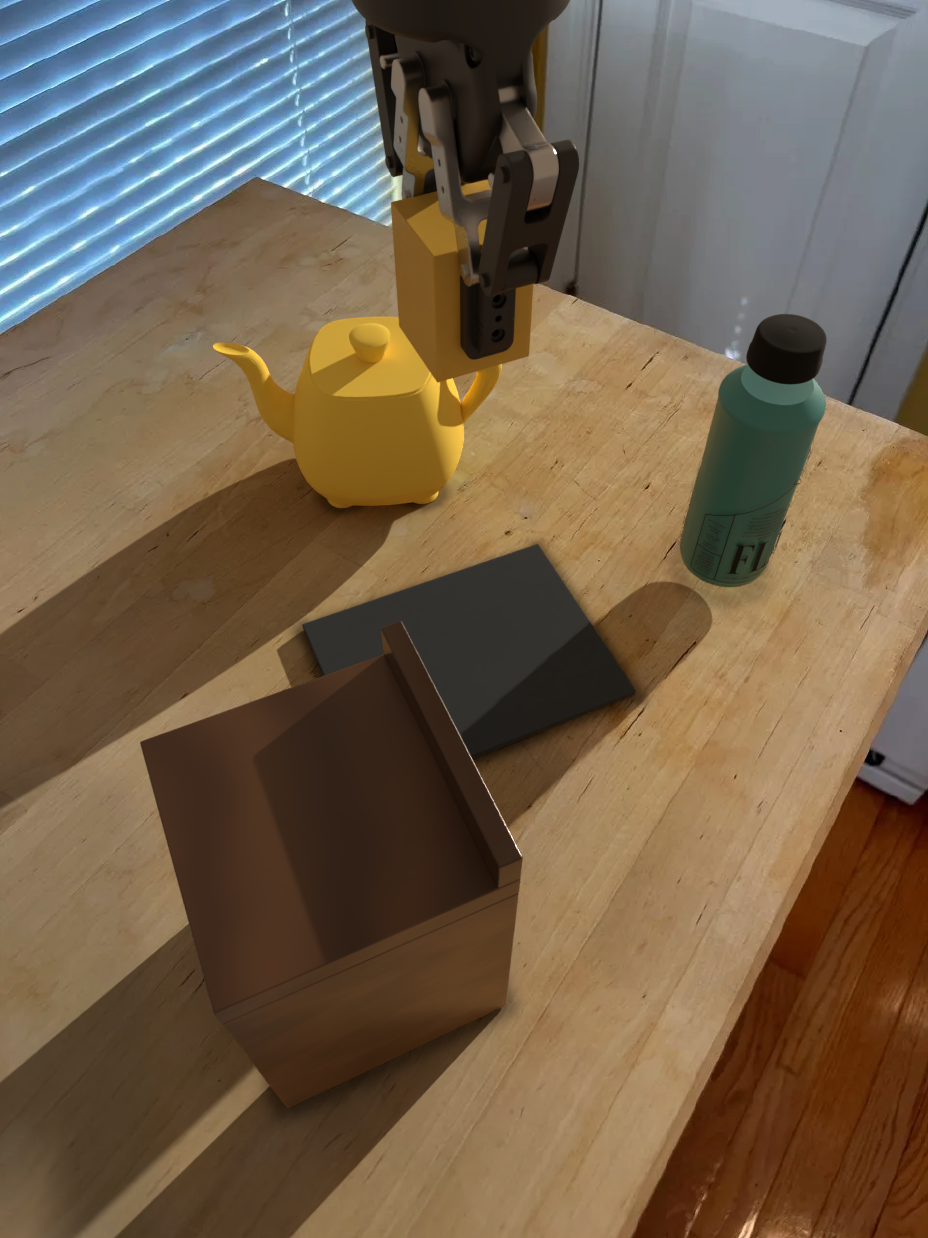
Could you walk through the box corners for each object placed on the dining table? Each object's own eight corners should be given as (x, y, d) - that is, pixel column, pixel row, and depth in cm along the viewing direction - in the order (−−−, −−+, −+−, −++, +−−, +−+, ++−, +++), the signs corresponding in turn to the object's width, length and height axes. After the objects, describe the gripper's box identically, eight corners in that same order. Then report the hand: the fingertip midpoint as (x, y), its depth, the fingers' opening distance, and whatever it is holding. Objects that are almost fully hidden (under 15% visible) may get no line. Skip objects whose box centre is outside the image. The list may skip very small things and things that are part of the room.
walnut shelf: (287, 1109, 46) (200, 997, 31) (222, 893, 53) (125, 716, 38) (506, 1005, 49) (523, 857, 34) (419, 813, 56) (401, 619, 41)
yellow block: (437, 383, 41) (432, 256, 36) (398, 326, 43) (389, 201, 39) (529, 356, 42) (537, 230, 37) (487, 302, 44) (489, 178, 40)
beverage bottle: (714, 617, 65) (793, 383, 49) (653, 556, 68) (709, 319, 52) (783, 579, 67) (881, 342, 51) (721, 522, 70) (794, 283, 55)
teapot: (251, 417, 78) (219, 283, 68) (491, 406, 79) (494, 272, 69) (238, 536, 70) (200, 404, 60) (506, 522, 70) (513, 389, 61)
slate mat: (375, 798, 57) (375, 793, 56) (303, 629, 64) (301, 623, 64) (635, 695, 61) (636, 690, 61) (537, 548, 69) (538, 543, 68)
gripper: (269, -216, 31) (329, 256, 45) (438, -84, 23) (449, 442, 37) (475, -239, 33) (473, 221, 47) (697, -124, 25) (616, 391, 39)
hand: (462, 316), depth 42 cm, fingers closed on yellow block, 4 cm apart
